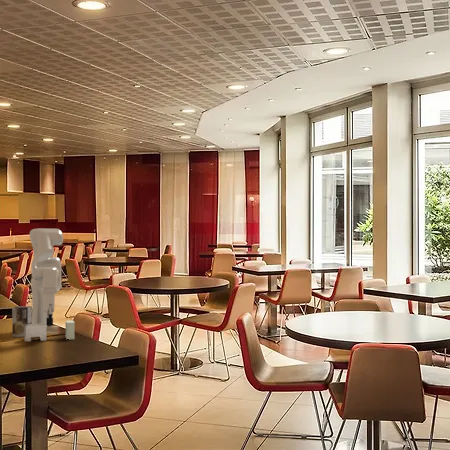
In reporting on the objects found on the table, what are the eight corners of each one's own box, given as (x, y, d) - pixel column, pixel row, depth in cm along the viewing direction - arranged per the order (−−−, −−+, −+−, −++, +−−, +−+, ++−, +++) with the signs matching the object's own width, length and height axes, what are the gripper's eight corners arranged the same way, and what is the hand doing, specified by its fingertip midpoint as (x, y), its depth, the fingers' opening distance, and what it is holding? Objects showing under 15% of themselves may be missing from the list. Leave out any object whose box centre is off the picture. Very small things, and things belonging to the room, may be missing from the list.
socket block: (65, 337, 363) (65, 320, 363) (73, 337, 364) (73, 320, 364) (66, 339, 355) (66, 322, 355) (74, 339, 356) (74, 322, 356)
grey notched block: (24, 339, 356) (24, 324, 356) (45, 338, 359) (45, 323, 359) (24, 341, 348) (25, 326, 348) (46, 340, 352) (46, 325, 352)
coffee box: (32, 335, 370) (32, 306, 370) (27, 337, 363) (27, 307, 364) (16, 334, 371) (16, 306, 371) (11, 336, 364) (11, 307, 364)
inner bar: (26, 333, 354) (26, 315, 354) (59, 332, 360) (59, 314, 360) (26, 334, 351) (26, 316, 351) (59, 333, 356) (59, 315, 356)
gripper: (41, 289, 363) (41, 323, 363) (43, 292, 348) (43, 327, 347) (56, 289, 365) (55, 323, 365) (58, 292, 350) (57, 327, 350)
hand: (49, 324), depth 356 cm, fingers closed on inner bar, 2 cm apart
